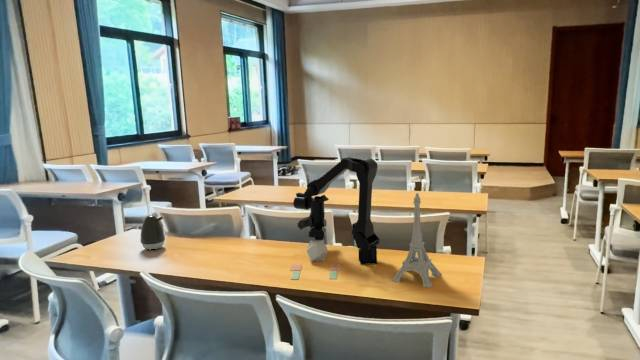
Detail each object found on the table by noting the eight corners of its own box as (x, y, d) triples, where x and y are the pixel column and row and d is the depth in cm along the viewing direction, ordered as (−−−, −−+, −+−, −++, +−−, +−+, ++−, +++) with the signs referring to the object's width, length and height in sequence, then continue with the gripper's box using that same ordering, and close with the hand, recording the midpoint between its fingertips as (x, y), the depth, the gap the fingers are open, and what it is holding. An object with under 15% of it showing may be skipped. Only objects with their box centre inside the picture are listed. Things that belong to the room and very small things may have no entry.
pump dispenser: (161, 251, 190) (158, 217, 188) (137, 252, 190) (134, 218, 188) (169, 244, 200) (166, 212, 198) (147, 245, 200) (143, 212, 198)
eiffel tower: (405, 268, 162) (404, 188, 157) (441, 274, 155) (442, 190, 150) (391, 281, 151) (391, 195, 146) (430, 288, 144) (431, 198, 139)
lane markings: (341, 264, 167) (341, 264, 167) (340, 279, 154) (340, 278, 154) (291, 265, 169) (291, 264, 168) (286, 279, 155) (286, 279, 155)
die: (320, 266, 168) (332, 244, 170) (301, 255, 169) (313, 233, 170) (320, 266, 176) (332, 245, 178) (301, 256, 177) (313, 235, 178)
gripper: (300, 206, 190) (301, 241, 192) (295, 217, 171) (296, 255, 174) (326, 205, 189) (327, 240, 191) (323, 216, 170) (325, 255, 173)
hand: (318, 247), depth 182 cm, fingers closed
